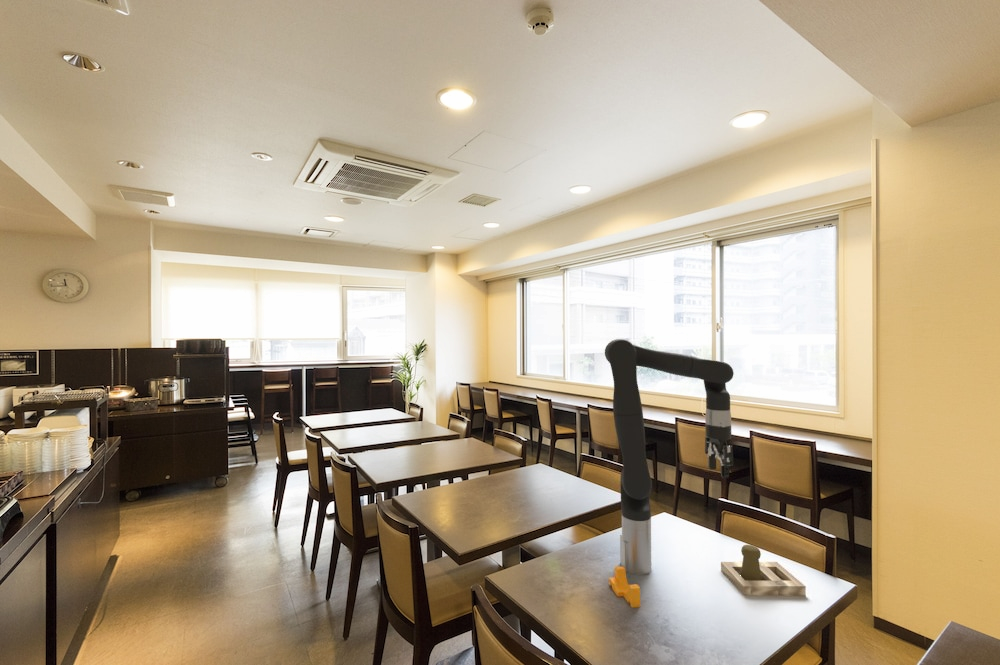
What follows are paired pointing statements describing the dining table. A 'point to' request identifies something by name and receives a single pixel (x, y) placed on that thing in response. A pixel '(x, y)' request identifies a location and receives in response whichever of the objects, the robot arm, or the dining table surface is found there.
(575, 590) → the dining table surface
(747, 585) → the socket block
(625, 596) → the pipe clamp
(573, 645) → the dining table surface
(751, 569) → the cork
